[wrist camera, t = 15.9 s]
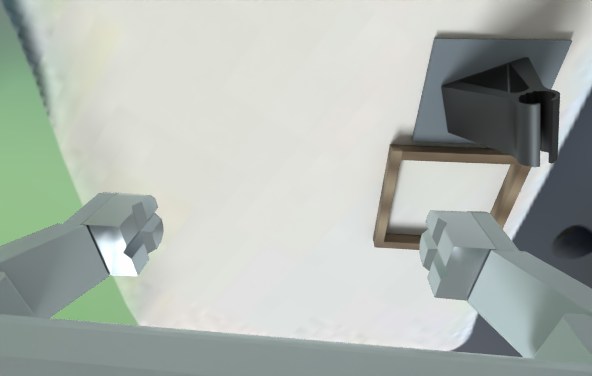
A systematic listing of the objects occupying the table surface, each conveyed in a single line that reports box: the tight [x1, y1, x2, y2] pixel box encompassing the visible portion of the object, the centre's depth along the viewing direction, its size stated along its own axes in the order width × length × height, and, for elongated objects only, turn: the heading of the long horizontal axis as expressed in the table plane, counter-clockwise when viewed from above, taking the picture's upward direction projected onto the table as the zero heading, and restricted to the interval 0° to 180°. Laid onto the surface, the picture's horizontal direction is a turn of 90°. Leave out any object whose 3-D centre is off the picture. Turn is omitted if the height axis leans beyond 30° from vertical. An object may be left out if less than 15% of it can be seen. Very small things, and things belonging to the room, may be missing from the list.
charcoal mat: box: [412, 38, 572, 144], centre depth 36 cm, size 12×14×1 cm
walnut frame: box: [373, 145, 531, 250], centre depth 43 cm, size 16×17×2 cm
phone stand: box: [441, 57, 560, 167], centre depth 31 cm, size 9×6×12 cm, turn 111°
